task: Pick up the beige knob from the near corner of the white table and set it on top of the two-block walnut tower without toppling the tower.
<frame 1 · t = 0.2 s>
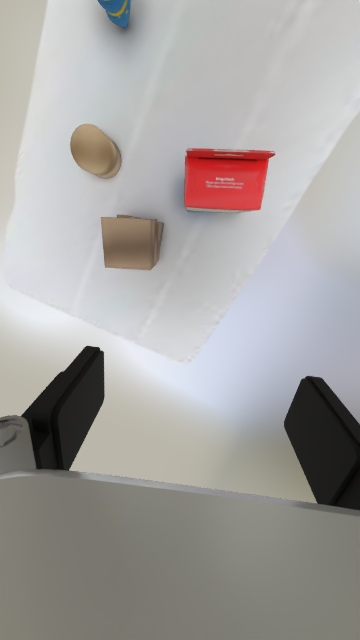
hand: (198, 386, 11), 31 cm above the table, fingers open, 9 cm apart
ink box: (214, 194, 35), on the table
bottom block: (143, 238, 38), on the table, touching top block
beige knob: (104, 158, 33), on the table
top block: (136, 241, 33), point 5 cm above the table, touching bottom block
ornament: (126, 27, 28), on the table
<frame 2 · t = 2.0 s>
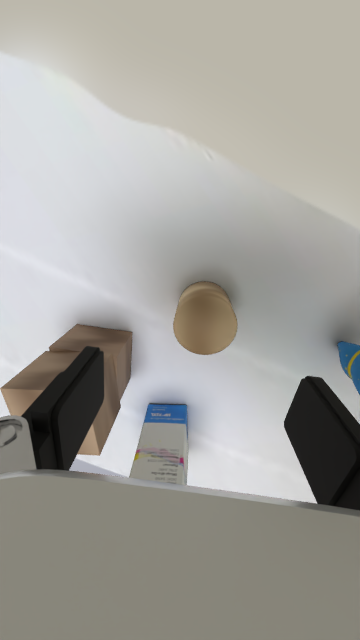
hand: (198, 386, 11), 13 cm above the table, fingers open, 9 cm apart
ink box: (169, 427, 29), on the table
bottom block: (105, 352, 26), on the table, touching top block
beige knob: (203, 306, 23), on the table
top block: (84, 380, 21), point 5 cm above the table, touching bottom block
ornament: (337, 343, 23), on the table
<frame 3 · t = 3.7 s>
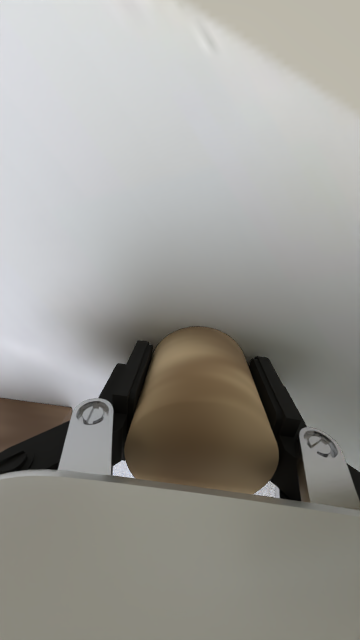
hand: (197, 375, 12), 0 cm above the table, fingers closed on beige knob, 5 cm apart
bottom block: (30, 435, 15), on the table, touching top block
beige knob: (197, 369, 12), on the table, touching gripper
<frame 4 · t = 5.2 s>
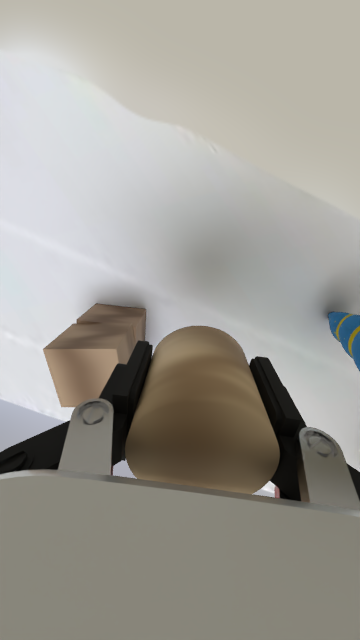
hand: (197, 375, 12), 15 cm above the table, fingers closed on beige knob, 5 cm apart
bottom block: (121, 328, 28), on the table, touching top block
beige knob: (198, 368, 12), point 15 cm above the table, touching gripper
top block: (107, 349, 24), point 5 cm above the table, touching bottom block
ornament: (328, 314, 26), on the table
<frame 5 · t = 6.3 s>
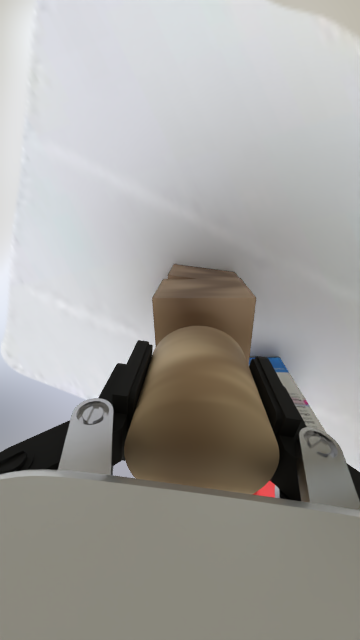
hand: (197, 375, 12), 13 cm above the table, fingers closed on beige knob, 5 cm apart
ink box: (254, 385, 28), on the table
bottom block: (199, 297, 24), on the table, touching top block
beige knob: (197, 368, 12), point 13 cm above the table, touching gripper
top block: (201, 314, 19), point 5 cm above the table, touching bottom block
when the fingers open (11 cm above the table, at t = 6.9 s): beige knob stays where it is, resting on top block.
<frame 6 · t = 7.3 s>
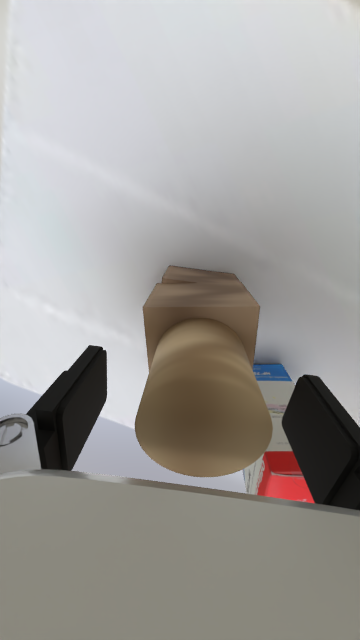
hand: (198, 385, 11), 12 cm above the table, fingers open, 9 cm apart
ink box: (255, 392, 26), on the table
bottom block: (196, 300, 22), on the table, touching top block
beige knob: (199, 358, 13), point 10 cm above the table, touching top block
top block: (198, 321, 17), point 5 cm above the table, touching bottom block, beige knob
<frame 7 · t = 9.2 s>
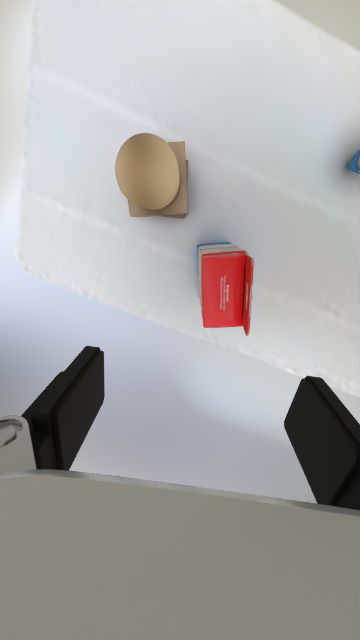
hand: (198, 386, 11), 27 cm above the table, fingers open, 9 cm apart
ink box: (213, 271, 36), on the table
beige knob: (155, 182, 23), point 10 cm above the table, touching top block
top block: (161, 187, 27), point 5 cm above the table, touching bottom block, beige knob
ornament: (348, 167, 30), on the table
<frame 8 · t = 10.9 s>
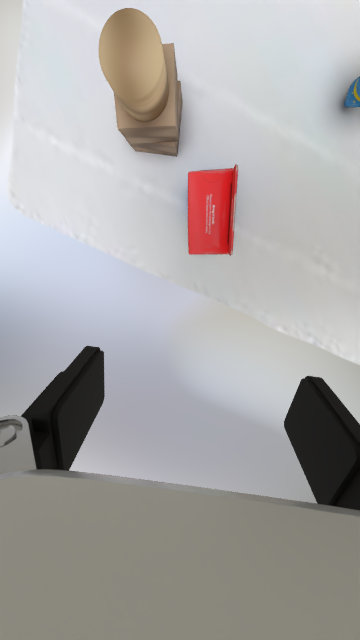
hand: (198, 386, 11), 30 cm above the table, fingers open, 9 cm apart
ink box: (205, 216, 36), on the table
bottom block: (158, 127, 31), on the table, touching top block
beige knob: (143, 89, 22), point 10 cm above the table, touching top block
top block: (152, 111, 27), point 5 cm above the table, touching bottom block, beige knob
ornament: (344, 105, 29), on the table
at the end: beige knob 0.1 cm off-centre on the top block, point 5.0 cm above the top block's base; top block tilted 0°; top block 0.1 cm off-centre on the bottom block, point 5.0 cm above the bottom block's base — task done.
